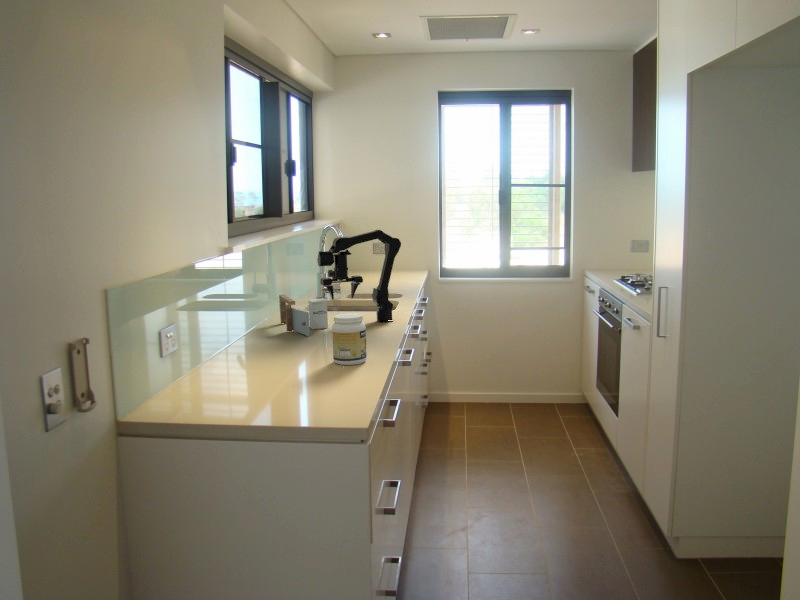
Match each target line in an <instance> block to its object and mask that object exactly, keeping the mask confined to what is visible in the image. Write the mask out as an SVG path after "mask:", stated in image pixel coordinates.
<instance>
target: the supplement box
mask: <svg viewBox="0 0 800 600" xmlns="http://www.w3.org/2000/svg"><path fill="white" fill-rule="evenodd" d="M308 312H309V328H311V330H318V329H328V328H329V319H328V300H327V299H325V298H319V299H318V298H317V299H315V298H313V299H308Z"/></svg>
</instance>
